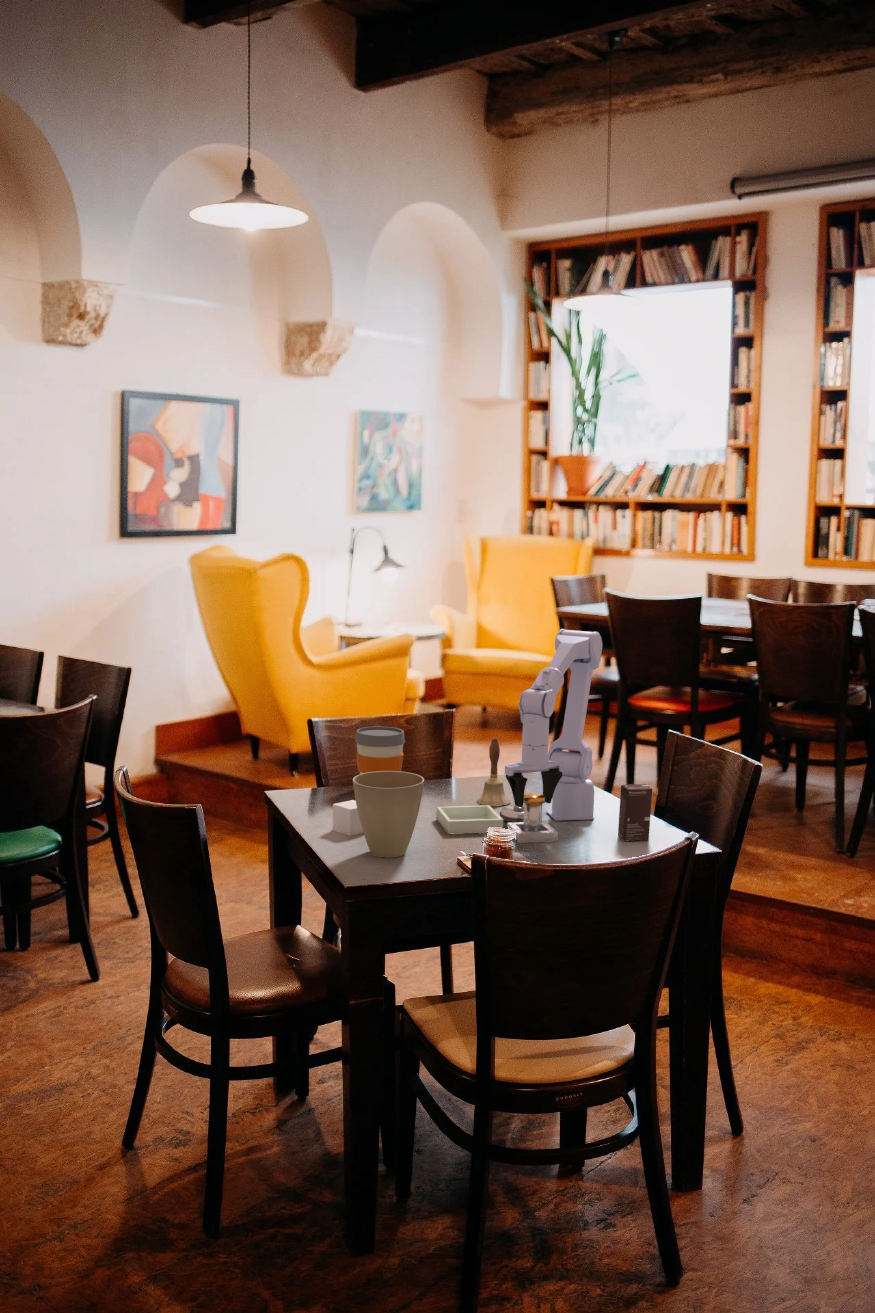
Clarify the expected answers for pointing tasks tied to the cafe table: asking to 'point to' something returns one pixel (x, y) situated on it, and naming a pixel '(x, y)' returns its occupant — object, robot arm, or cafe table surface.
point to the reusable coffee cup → (379, 749)
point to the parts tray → (468, 818)
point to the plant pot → (388, 809)
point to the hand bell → (493, 781)
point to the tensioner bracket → (515, 819)
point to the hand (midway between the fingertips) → (533, 804)
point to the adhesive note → (346, 818)
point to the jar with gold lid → (533, 811)
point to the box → (634, 812)
